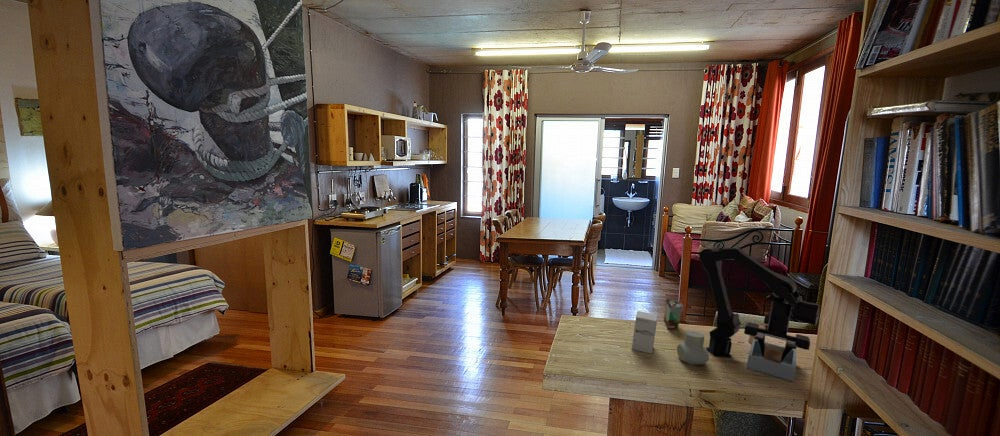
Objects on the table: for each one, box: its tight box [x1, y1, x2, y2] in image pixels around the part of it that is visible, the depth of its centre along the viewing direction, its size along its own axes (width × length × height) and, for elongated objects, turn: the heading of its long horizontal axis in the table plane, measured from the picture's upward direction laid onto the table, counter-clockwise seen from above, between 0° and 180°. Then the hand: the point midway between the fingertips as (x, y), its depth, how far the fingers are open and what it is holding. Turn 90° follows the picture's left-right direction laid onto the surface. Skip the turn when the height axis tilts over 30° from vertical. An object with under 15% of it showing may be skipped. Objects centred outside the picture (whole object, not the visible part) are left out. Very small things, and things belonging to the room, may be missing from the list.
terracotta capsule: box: [747, 324, 767, 345], centre depth 176 cm, size 5×5×7 cm
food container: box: [663, 297, 685, 331], centre depth 188 cm, size 12×6×10 cm, turn 168°
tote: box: [746, 339, 797, 383], centre depth 157 cm, size 18×14×5 cm
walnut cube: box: [763, 344, 783, 363], centre depth 153 cm, size 5×5×5 cm
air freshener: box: [676, 330, 710, 366], centre depth 156 cm, size 11×8×10 cm
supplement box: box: [631, 310, 659, 354], centre depth 164 cm, size 7×7×13 cm
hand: (772, 359), depth 153 cm, fingers closed on walnut cube, 5 cm apart
